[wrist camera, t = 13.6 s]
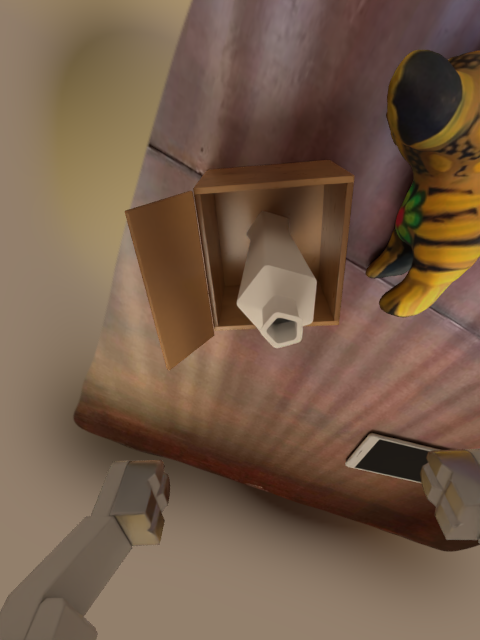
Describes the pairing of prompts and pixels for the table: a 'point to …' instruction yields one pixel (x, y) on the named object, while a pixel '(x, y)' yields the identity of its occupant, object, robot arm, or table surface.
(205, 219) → the carton
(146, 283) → the carton flap
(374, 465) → the smartphone
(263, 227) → the perfume bottle
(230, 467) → the table surface
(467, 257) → the multicolored animal figure
